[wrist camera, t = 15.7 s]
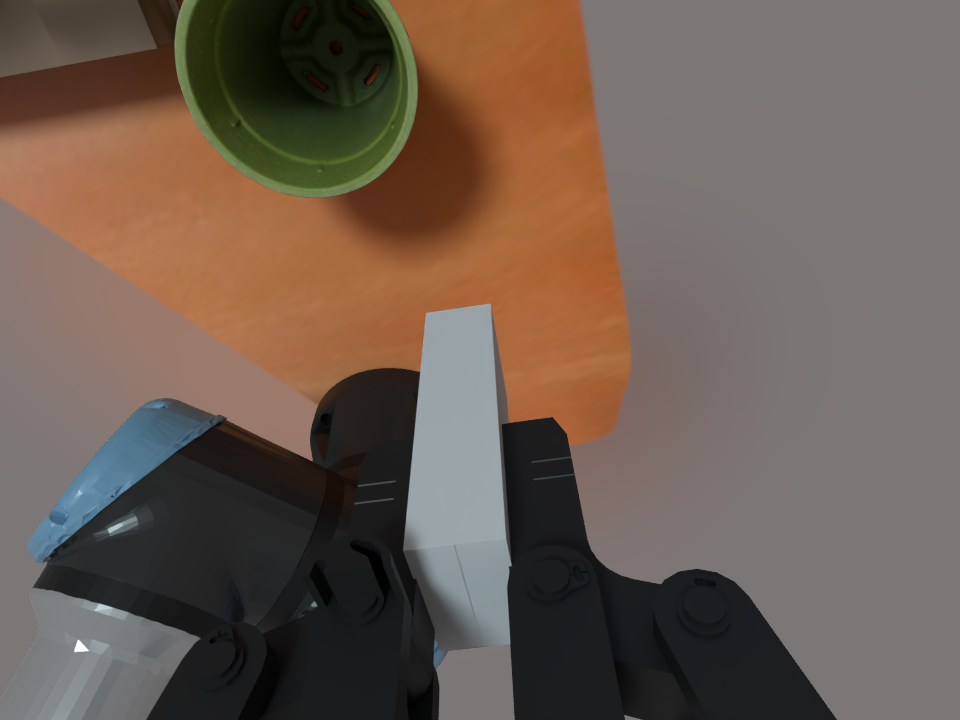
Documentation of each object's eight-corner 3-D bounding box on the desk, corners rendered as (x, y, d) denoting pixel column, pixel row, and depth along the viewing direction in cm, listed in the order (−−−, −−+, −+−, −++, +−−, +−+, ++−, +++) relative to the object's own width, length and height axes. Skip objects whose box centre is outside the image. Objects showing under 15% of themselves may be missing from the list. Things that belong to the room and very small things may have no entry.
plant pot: (442, -44, 38) (434, -29, 28) (415, 152, 44) (402, 215, 35) (238, -90, 36) (161, -90, 27) (243, 120, 43) (182, 177, 34)
